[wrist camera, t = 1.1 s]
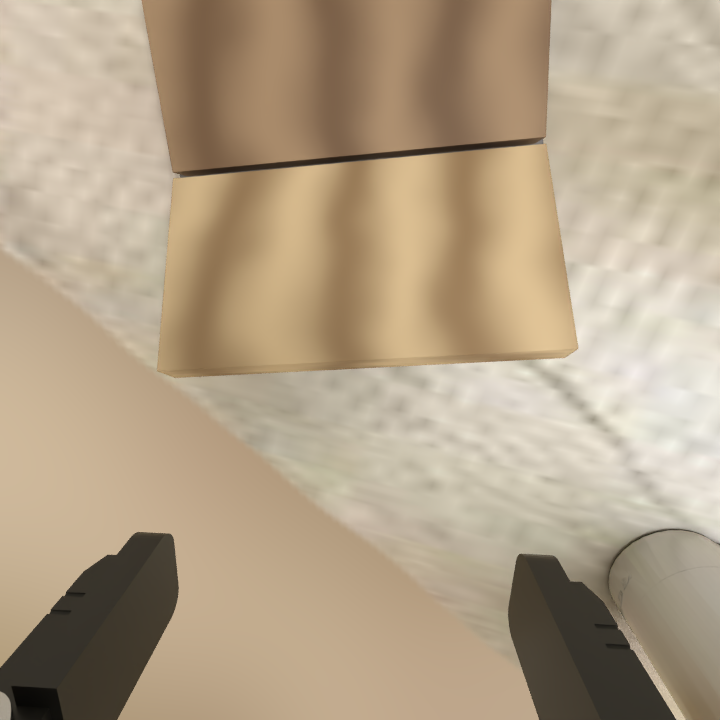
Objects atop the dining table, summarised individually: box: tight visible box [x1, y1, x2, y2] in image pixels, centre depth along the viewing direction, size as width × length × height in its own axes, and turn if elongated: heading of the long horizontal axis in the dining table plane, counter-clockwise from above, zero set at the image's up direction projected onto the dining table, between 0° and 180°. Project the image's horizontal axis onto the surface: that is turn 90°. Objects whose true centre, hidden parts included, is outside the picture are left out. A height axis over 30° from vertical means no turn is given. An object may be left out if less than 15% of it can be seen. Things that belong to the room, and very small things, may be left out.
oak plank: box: [157, 144, 578, 378], centre depth 25 cm, size 22×12×2 cm
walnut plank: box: [142, 0, 551, 176], centre depth 24 cm, size 22×12×2 cm, turn 94°
